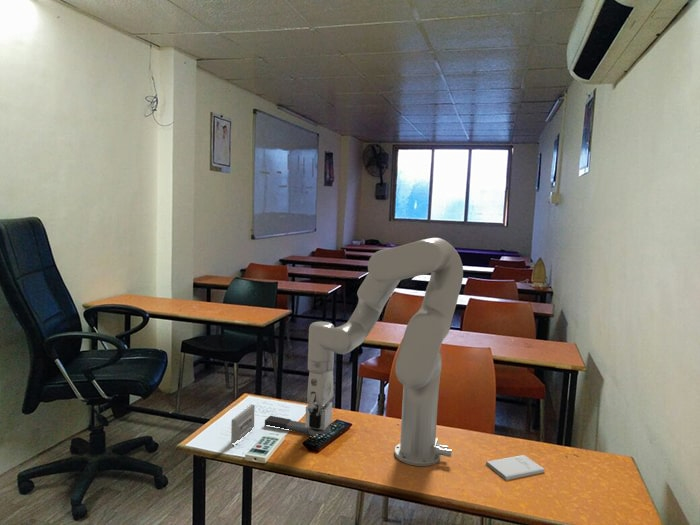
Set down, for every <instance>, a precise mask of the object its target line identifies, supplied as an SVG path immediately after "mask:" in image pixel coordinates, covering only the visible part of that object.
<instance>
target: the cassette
mask: <svg viewBox="0 0 700 525" xmlns="http://www.w3.org/2000/svg"><path fill="white" fill-rule="evenodd" d="M253 427H254V428H255V405H254V404H251V405H249V406H247V407H246V408H245V409H244V410H243V411H242V412H240V413H239V414H237V415H236V416H235V417H233V418H232V419H231V430H230V431H231V436H230V437H231V440H230V441H231V443H235V442H236V441H237V440H240V439H241V438H242V437H244V436H245V435H246V434H247V433H248V432H250V431H251V430H252V428H253ZM252 431H253V430H252ZM231 443H230V444H231Z"/></svg>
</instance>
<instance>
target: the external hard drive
mask: <svg viewBox="0 0 700 525" xmlns="http://www.w3.org/2000/svg"><path fill="white" fill-rule="evenodd" d="M485 463H486V464H485V465H486V466H487V467H489V468H490V469H491V470H492V471H494V472H495V473H496V474H497V475H499V477H501V478H502V479H504V480H505V481H509V480H514V479H519V478H520V479H521V478H524V477H527V476H529V477H530V476H533V475H538V474H543V473H545V468H544V467H542V466H541V465H539V464H538V463H537V462H536V461H534V460H533V459H531V458H530V457H528V456H526V455H525V454H521V455H517V456H510V457H505V458H504V457H503V458H498V459H493V460H489V461H488V460H487V461H486V462H485Z"/></svg>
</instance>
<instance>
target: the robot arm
mask: <svg viewBox="0 0 700 525" xmlns="http://www.w3.org/2000/svg"><path fill="white" fill-rule="evenodd" d="M367 271H368V273H367V274H366V276H365V278H364V280H363V281H362V283H361V284H360V286H359V288H358V290H357V293H356V295H357V298H358V301H357V304H356V307H355V309H354V311H353V312H352V314H351V316H350V317H349V318H348V320H347V322H345V323H343V324H341V325H339V326H336V327H335V325H334V324H333V323H331V322H328V321H315V322H311V323H310V325H309V328H308V346H307V349H308V351H307V353H308V354H307V370H308V371H309V372H308V374H309V375H308V382H307V396H306V397H307V398H306V399H307V400H306V401H307V405H308V410H309V427H311V428H317V429H319V428H320V415H319V412H320V406H321V407H323V406H324V405H325V404H326V403H327V402H330V401H331V399H333V397H334V364H335V363H334V362H335V360H334V358H335V357H334V356H335V354H339V355H346V354H348V353H350V352H352V351H353V350H354V349H356V348H357V347H359V346H360V345H362V344H363V343H364V341H365V340H366V339H367V338H368V336H369V334H370V333H371V331H372V330H373V328H374V326H375V325H376V323H377V321H378V320H379V318H380V315H381V313H382V312H383V309H384V307H385V306H386V304H387V302H388V300H390V297H391V296H392V294H393V293H394V291H395V290H396V288H397V287H398V285H399V283H400V282H401V281H402V280H406V279H410V278H414V277H420V276H424V275H428V274H430V277H429V280H428V284H427V286H426V289H425V293H424V297H423V300H422V303H421V307H420V308H419V310H418V311H417V312H416V313H415V314H414V315H412V317H411V318H410V319H409V321H408V322H407V325H406V328H405V330H404V334H403V337H402V341H401V344H400V348H399V351H398V353H397V358H396V362H395V375H396V378H397V379H398V381H399V383H400V384H402V386H403V388H402V389H403V391H402V399H401V401H402V402H401V403H402V405H401V406H402V407H401V421H400V422H401V424H400V441H399V443H398V444H397V445H395V447H394V456H395V457H396V458H397V459H398V460H399V461H400V462H402V463H404V464H407V465H410V466H414V467H428V466H433V465H436V464H437V463H438V462H439V461H440V460H441V456H443V457H447V458H452V449H449V445H447V444H446V445H445V444H440V443H439V442H438V441H439V438H438V437H436V436H437V421H438V420H437V418H438V403H439V390H440V378H441V373H442V364H443V363H442V361H443V360H442V355H441V353H440V350H441V348H442V347H441V346H442V344H443V341H444V340H445V338H446V337H447V336H448V335H449V332H450V330H451V325H452V322H453V321H452V320H453V316H454V313H455V310H456V308H457V307H456V306H457V303H458V299H459V296H460V295H459V294H460V291H461V288H462V283H463V278H464V267H463V263H462V259H461V256H460V254H459V253H458V251H457V250H456V249H455V247H454V246H453V245H452V244H451V243H449V242H448V241H447V240H445V239H443V238H440V237H430V238H429V237H428V238H425V239H420V240H417V241H413V242H409V243H406V244H402V245H399V246H394V247H391V248H390V247H389V248H385V249H380V250H378V251H375V252H374V253H372V255H371V256H370V257H369V259H368V263H367ZM315 402H317V404H314V403H315ZM314 406H316V407H317V410H316V409H315V408H314Z"/></svg>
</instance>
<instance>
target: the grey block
mask: <svg viewBox="0 0 700 525" xmlns="http://www.w3.org/2000/svg"><path fill="white" fill-rule="evenodd" d="M314 404H317V402H315V403H314ZM314 408H315V409H316V410H317V407H316V406H314ZM319 415H320V428H319V429H321V430H325V429H326V428H327V427H328V425H331V423H333V422H332V420H333V402H330V401H329V402H327V403H326V404H325V405H324V406H323V407H321V406H320V412H319ZM304 420H305V422H304V423H305V427H309V410H308V404H307V405H306V406H305V419H304ZM310 428H311V427H310ZM315 429H317V428H315Z"/></svg>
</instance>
